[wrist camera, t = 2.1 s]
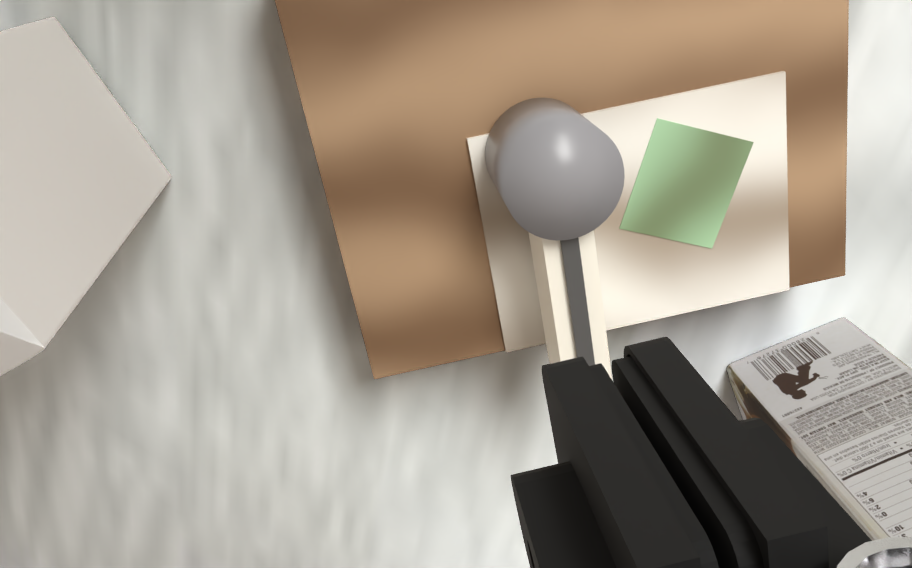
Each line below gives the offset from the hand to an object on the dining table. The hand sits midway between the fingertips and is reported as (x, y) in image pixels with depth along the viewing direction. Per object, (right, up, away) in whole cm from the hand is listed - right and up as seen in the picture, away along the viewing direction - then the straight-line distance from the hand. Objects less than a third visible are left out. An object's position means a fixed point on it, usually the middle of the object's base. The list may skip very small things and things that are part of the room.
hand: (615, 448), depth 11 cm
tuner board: (+2, +9, +23) cm, 25 cm away
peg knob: (+2, +4, +21) cm, 21 cm away
